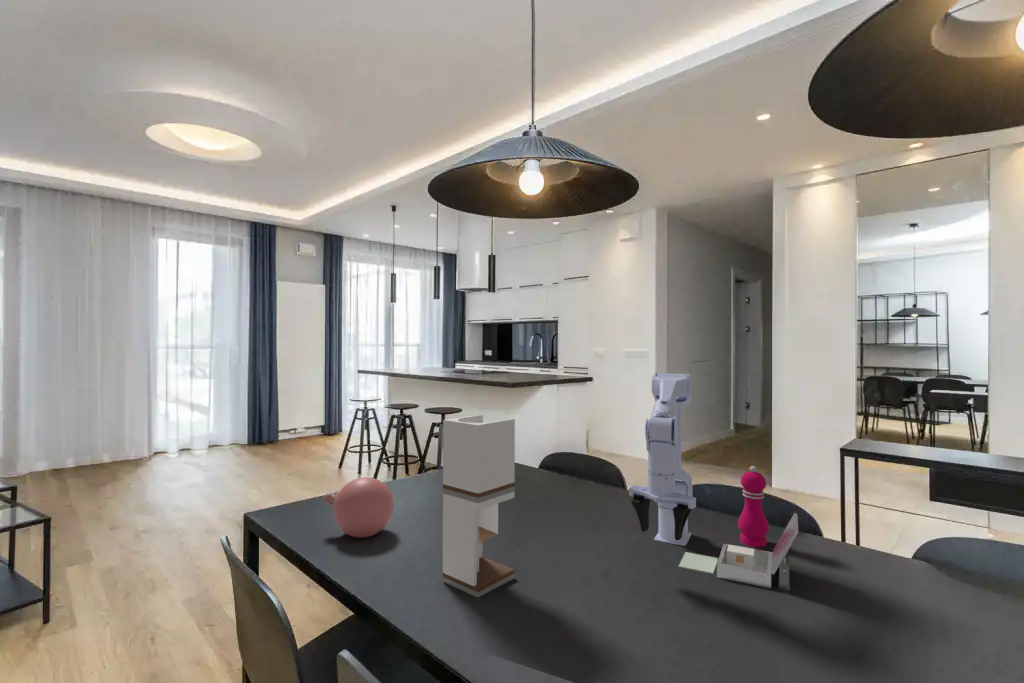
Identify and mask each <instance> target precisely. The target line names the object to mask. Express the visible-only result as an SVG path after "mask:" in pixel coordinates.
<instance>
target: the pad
mask: <svg viewBox="0 0 1024 683" xmlns="http://www.w3.org/2000/svg"><path fill="white" fill-rule="evenodd" d="M718 559H719V557H714V556H709V555H704V554H698V553H694V552H686V551H685V552H684V554H683V557H682V558H681V560H680V562H679V564H678V568H682V569H687V570H692V571H697V572H701V573H708V574H714V572H715V570H716V568H717V562H718Z"/></svg>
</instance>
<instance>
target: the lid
mask: <svg viewBox="0 0 1024 683" xmlns="http://www.w3.org/2000/svg"><path fill="white" fill-rule="evenodd" d="M798 533H799V519H798V513H796V512H794V513H793V515H792V517H791V519H790V520H789V521H788V523H787V525H786V526H785V528H784V530H783V532H782V534H781V535H780V538H779V539H778V541H777V543H776V545H775V546H774V547H773V550H772V552H773V553H772V566H771V573H772V575H775V573H776V572H777V570H778V568H779V566H780V563H781V562H782V560H783V558H784V556H785V555H786V553H787V551H788V552H789V549H790V547H791V546H792V545H793V542H794V541H795V539H796V537H797V536H798Z"/></svg>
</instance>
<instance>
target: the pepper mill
mask: <svg viewBox="0 0 1024 683" xmlns="http://www.w3.org/2000/svg"><path fill="white" fill-rule="evenodd" d="M740 484H741V486H742V488H743V489H742V496H744V507H743V509H742V512H741V513H740V515H739V518H738V522H737V527H738V529H739V530H740V532H741V533H740V534H739V541H740V543H741V544H743V545H745V546H748V547H752V548H763V547H764V548H765V547H766V546H767V544H768V543H767V541H768V538H767V537H766V535H767V534H768V533H769V532H770V531H769V530H770V528H769V527H770V526H769V522H768V520H767V517H766V516H765V513H764V510H763V499H765V495H764V494H765V492H764V490H765V488H766V487H767V481H766V478H765V477H764V475H763V474H762V473H761V472H758V468H757V467H756V466H755V465H751V466H750V467H749V471H746V472H744V473H743V474H742V475H741V477H740Z"/></svg>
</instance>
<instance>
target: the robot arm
mask: <svg viewBox="0 0 1024 683" xmlns="http://www.w3.org/2000/svg"><path fill="white" fill-rule="evenodd" d="M651 394H652V395H653V399H654V401H655V402H654V403H653V406H652V409H651V413H650V414H651V415H650V418H649V419H648V418H646V420H645V423H644V426H645V427H644V435H645V441H646V443H645V444H646V447H645V448H646V452H647V486H638V485H631V486H629V487H628V496H629V497H632V499H631V502H630V503H631V505H632V506H633V508H634V510H635V512H636V515H637V518H638V521H639V525H640V529H641V532H643V533H645V532H646V531H648V530H649V527H650V526H649V525H650V524H649V523H650V517H649V516H650V515H649V514H650V505H651V504H650V503H651V501H654V502H655V503H656V504H657V506H658V509H657V510H658V518H657V519H658V522H657V523H658V530H657V531H658V532H657V533H656V536H655V537H654V538H653V540H654V541H657V542H660V543H667V544H673V545H677V546H682V547H685V546H687V544H688V543H689V540H690V538H691V536H692V532H691V531H690V532H689V530H688V529H689V528H688V526H689V525H688V524H689V523H688V522H689V518H688V517H689V516H690V514H691V512H692V510H693V509H695V508H696V507H697V497H694V496H693V478H692V476H691V474H690V473H689V472H687V471H686V470H685V469H684V468H683V467H682V436H683V435H682V433H683V432H682V428H683V427H682V424H683V421H682V419H683V418H682V417H683V416H682V415H683V410H684V408H685V406H688V405H691V404H692V403H691V402H692V401H693V400H692V399H693V396H692V394H693V376H692V375H691V373H659V372H654V373H653V374H652V377H651Z"/></svg>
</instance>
